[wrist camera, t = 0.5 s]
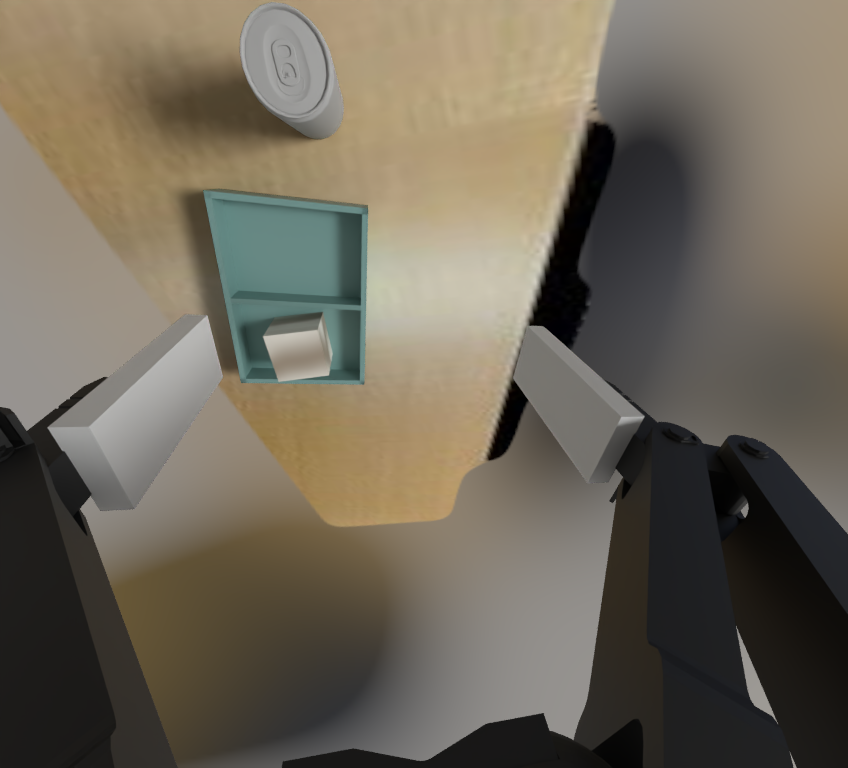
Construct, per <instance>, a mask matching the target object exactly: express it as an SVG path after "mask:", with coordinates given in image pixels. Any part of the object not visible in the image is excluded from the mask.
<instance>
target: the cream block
mask: <svg viewBox="0 0 848 768" xmlns="http://www.w3.org/2000/svg"><path fill="white" fill-rule="evenodd" d="M263 338H264V341H265V344H266V347H267V350H268V352H269V355H270V358H271V361H272V364H273V367H274V370H275V373H276V375H277V378H278V381H279V382H282V381H290V380H297V379H305V378H313V377H320V376H328V375H329V372H330V366H331V361H332V355H333V353H332V348H331V344H330V340H329V336H328V331H327V327H326V323H325V319H324V314H323V312H317V313H308V314H299V315H290V316H282V317H275V318H274V319H273V321H272V323H271V324H270V326H269V327H268V329H267V331H266V332H265V334H264V335H263Z"/></svg>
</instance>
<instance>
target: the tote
mask: <svg viewBox="0 0 848 768" xmlns="http://www.w3.org/2000/svg"><path fill="white" fill-rule="evenodd" d="M203 192H204V197H205V202H206V207H207V212H208V218H209V223H210V228H211V233H212V238H213V243H214V248H215V253H216V258H217V263H218V268H219V273H220V278H221V283H222V289H223V294H224V299H225V304H226V309H227V314H228V319H229V324H230V329H231V334H232V339H233V344H234V349H235V354H236V359H237V365H238V370H239V375H240V380H241V383H291V384H364V372H365V326H366V279H367V232H368V205H360V204H351V203H342V202H333V201H324V200H315V199H306V198H297V197H288V196H279V195H270V194H261V193H252V192H244V191H235V190H226V189H212V190H203ZM317 312H323V314H324V319H325V323H326V327H327V331H328V336H329V340H330V344H331V348H332V353H333V355H332V361H331V366H330V372H329V375H328V376H320V377H313V378H305V379H297V380H290V381H282V382H279V381H278V378H277V375H276V373H275V370H274V367H273V364H272V361H271V358H270V355H269V352H268V350H267V347H266V344H265V341H264V338H263V335H264V334H265V332H266V331H267V329H268V327H269V326H270V324H271V323H272V321H273V319H274V318H275V317H282V316H290V315H299V314H308V313H317Z"/></svg>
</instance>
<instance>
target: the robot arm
mask: <svg viewBox="0 0 848 768" xmlns="http://www.w3.org/2000/svg"><path fill="white" fill-rule="evenodd" d="M222 378H223V375H222V371H221V367H220V363H219V359H218V355H217V351H216V347H215V344H214V340H213V336H212V332H211V328H210V324H209V320H208V316H207V315H190V314H185V315H184V316H182V317H181V318H180V319H179V320H177V321H176V322H175V323H174V324H173V325H171V326H170V327H169V328H168V329H167V330H165V331H164V332H163V333H162V334H161V335H159V336H158V337H157V338H156V339H154V340H153V341H152V342H151V343H150V344H149V345H147V346H146V347H145V348H143V349H142V350H141V351H140V352H139V353H137V354H136V355H135V356H134V357H132V358H131V359H130V360H129V361H128V362H126V363H125V364H124V365H123V366H122V367H120V368H119V369H118V370H117V371H116V372H114V373H113V374H112V375H111V376H109V377H103V378H101V379H99V380H97V381H94V382H93V383H90V384H88V385H86V386H84V387H83V388H81V389H80V390H79V391H78V392H76V393H75V394H74V395H72V396H71V397H70V399H68V400H66V401H65V402H63V403H62V404H61V405H60V406H59V408H58V409H55V410H53V411H52V412H51V413H49V414H48V415H47V416H45V417H44V418H43V419H42V420H40V421H39V422H38V423H37V424H35V425H34V426H33V427H32V428H30V429H29V430H28V431H26V430H25V428H24V427H23V425H22V424H21V422H20V421H19V420H18V418H17V416H16V415H15V413H14V412H12V411H11V410H10V409H8V408H2V407H0V768H178V767H177V765H176V762H175V760H174V756H173V754H172V751H171V748H170V746H169V743H168V740H167V737H166V735H165V732H164V729H163V727H162V724H161V721H160V718H159V716H158V713H157V710H156V708H155V705H154V702H153V700H152V697H151V694H150V692H149V689H148V686H147V684H146V681H145V678H144V675H143V672H142V670H141V667H140V664H139V661H138V659H137V656H136V653H135V651H134V648H133V645H132V642H131V640H130V637H129V634H128V632H127V629H126V626H125V623H124V621H123V618H122V615H121V612H120V610H119V607H118V604H117V602H116V599H115V596H114V594H113V591H112V588H111V586H110V583H109V580H108V577H107V574H106V572H105V569H104V566H103V564H102V561H101V558H100V556H99V553H98V550H97V547H96V545H95V542H94V539H93V536H92V534H91V531H90V528H89V526H88V523H87V520H86V518H85V516H84V515H83V513H82V512H81V510H80V508H81V506H82V505H83V504H84V503H85V502H86V500H87V499H88V498H89V497H90V496H91V497H92V499H93V500H94V501H95V503H96V505H97V506H98V508H99V509H100V511H109V510H128V509H135V508H136V506H137V504H138V503H139V502H140V500H141V498H142V497H143V496H144V494H145V492H146V491H147V489H148V488H149V486H150V485H151V483H152V482H153V481H154V479H155V478H156V476H157V475H158V473H159V472H160V470H161V469H162V467H163V466H164V464H165V463H166V461H167V460H168V458H169V457H170V455H171V454H172V452H173V451H174V449H175V448H176V446H177V445H178V443H179V442H180V440H181V439H182V437H183V436H184V434H185V433H186V432H187V430H188V429H189V427H190V426H191V424H192V422H193V421H194V419H195V418H196V417H197V415H198V414H199V412H200V411H201V409H202V408H203V406H204V405H205V403H206V402H207V400H208V399H209V397H210V396H211V394H212V393H213V391H214V390H215V388H216V387H217V385H218V384H219V382H220V381H221V379H222ZM513 379H514V380H515V381H516V383H517V384H518V386H519V387H520V389H521V390H522V391H523V393H524V394H525V396H526V397H527V398H528V400H529V401H530V403H531V404H532V405H533V406H534V408H535V410H536V411H537V413H538V414H539V415H540V417H541V418H542V420H543V421H544V422H545V424H546V425H547V427H548V428H549V430H550V431H551V432H552V434H553V435H554V437H555V438H556V439H557V441H558V442H559V444H560V445H561V446H562V448H563V449H564V451H565V452H566V454H567V455H568V456H569V458H570V459H571V460H572V462H573V463H574V465H575V466H576V468H577V469H578V471H579V472H580V473H581V475H582V476H583V477H584V479H585V480H586V482H587V483H604V482H609V480H610V478H611V476H612V475H613V473H614V471H615V469H617V470H618V472H619V473H620V474H621V475H622V476H623V479H622V480H621V482H620V484H619V485H618V487H617V489H616V491H615V492H614V494H613V496H612V497H611V499H610V502H612V503H613V502H614V501H615V499H616V506H615V513H614V520H613V527H612V534H611V541H610V548H609V555H608V561H607V568H606V575H605V583H604V589H603V596H602V603H601V611H600V617H599V625H598V631H597V638H596V645H595V652H594V659H593V666H592V673H591V680H590V687H589V693H588V699H587V702H586V705H585V708H584V711H583V713H582V715H581V718H580V720H579V723H578V726H577V729H576V733H575V737H574V740H572V739H570V738H568V737H566V736H563V735H561V734H558V733H555V732H553V731H549V728H548V725H547V722H546V719H545V716H544V713H542V714H536V715H531V716H526V717H520V718H515V719H510V720H504V721H499V722H493V723H488V724H485V725H483V726H482V727H480V728H479V729H477V730H476V731H474V732H472V733H471V734H469V735H468V736H466V737H464V738H463V739H461V740H460V741H458V742H456V743H455V744H453V745H452V746H450V747H448V748H447V749H445V750H444V751H442V752H440V753H439V754H437V755H436V756H434V757H432V758H431V759H429V760H426V761H416V760H410V759H406V758H400V757H395V756H390V755H385V754H379V753H374V752H369V751H364V750H359V749H348V750H343V751H337V752H332V753H327V754H322V755H316V756H311V757H306V758H300V759H295V760H289V761H284V762H283V764H282V768H793V764H792V760H791V756H790V753H791V755H792V758H793V760H794V762H795V764H796V767H797V768H848V534H847V533H846V532H845V531H844V529H843V528H842V527H841V526H840V525H839V523H838V522H837V521H836V520H835V519H834V518H833V517H832V515H831V514H830V513H829V512H828V511H827V510H826V509H825V507H824V506H823V505H822V504H821V503H820V501H819V500H818V499H817V498H816V497H815V496H814V494H813V493H812V492H811V491H810V490H809V489H808V488H807V486H806V485H805V484H804V483H803V482H802V481H801V479H800V478H799V477H798V476H797V475H796V474H795V472H794V471H793V470H792V469H791V468H790V467H789V466H788V464H787V463H786V462H785V461H784V460H783V458H781V456H780V455H778V454H777V453H776V452H775V451H774V450H773V449H771V448H770V447H768V446H766V444H764V443H762V442H760V441H759V442H758V440H756V439H753V438H748V437H745V436H739V435H731V436H728V438H727V439H726V440H725V441H724V443H723V444H722V446H721V447H719V446H713V445H708V444H703V443H702V441H701V440H700V439H699V438H698V437H697V436H696V435H695V434H694V433H692V432H690V431H689V430H687V429H685V428H683V427H681V426H678V425H675V424H672V423H668V422H658V423H657V422H656V421H655V420H654V419H653V418H652V417H650V416H649V415H648V414H647V413H646V412H645V411H643V410H642V409H641V408H640V407H639V406H638V405H637V404H636V403H634V402H632V400H631V399H630V398H629V397H628V396H626V395H624V393H623V392H622V391H621V390H619V389H618V388H617V387H616V386H615V385H613V384H611V383H610V382H608V381H606V380H604V379H602V378H601V377H600V376H598V375H597V374H596V373H595V372H594V371H593V370H592V369H591V368H590V367H588V366H587V365H586V364H585V363H584V362H583V361H581V359H579V358H578V357H577V356H576V355H575V354H574V353H573V352H572V351H570V350H569V349H568V348H567V347H566V346H565V345H564V344H563V343H561V342H560V341H559V340H558V339H557V338H556V337H555V336H554V335H552V334H551V333H550V332H549V331H548V330H547V329H546V328H544V327H543V326H527V330H526V334H525V337H524V341H523V345H522V348H521V352H520V356H519V359H518V363H517V366H516V370H515V374H514V377H513ZM747 503H748V505H749V510H748V514H747V516H746V518H745V517H744V516H743V514H742V513H741V509H742V508H743V507H744V506H745V505H746V504H747ZM736 626H737V629H738V631H739V633H740V636H741V638H742V640H743V643H744V645H745V647H746V650H747V652H748V654H749V657H750V659H751V661H752V664H753V666H754V668H755V670H756V673H757V675H758V678H759V680H760V683H761V685H762V687H763V689H764V692H765V694H766V697H767V699H768V701H769V703H770V706H771V708H772V711H773V713H774V715H775V718H776V720H777V722H778V724H777V722H776V721H775V720H774V718H773V717H772V716H771V715H769V714H767V713H766V712H764V711H762V710H760V709H759V708H757V707H755V706H754V704H753V703H752V701H751V700H750V697H749V693H748V690H747V685H746V679H745V674H744V668H743V662H742V657H741V652H740V646H739V640H738V635H737V629H736Z"/></svg>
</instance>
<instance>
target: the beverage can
mask: <svg viewBox="0 0 848 768" xmlns="http://www.w3.org/2000/svg"><path fill="white" fill-rule="evenodd" d="M240 57H241V62H242V68H243V70H244V73H245V76H246V78H247V81H248V83H249V85H250V88H251V89H252V91H253V92H254V94H255V96H256V97H257V99H258V100H259V101H260V102H261V103H262V104H263V106H264V107H265V108H266V109H267V110H268V111H269V112H271V113H272V114H274V115H275V116H277V117H278V118H279V119H281V120H282V121H284V122H285V123H287V124H288V125H290V126H291V127H293V128H294V129H296V130H297V131H299V132H300V133H302V134H303V135H305V136H307V137H310V138H313V139H324V138H327V137H329V136H331V135H332V134H334V133H335V132H336V130H337V129H338V128H339V126H340V124H341V122H342V119H343V113H344V105H343V98H342V94H341V91H340V87H339V83H338V79H337V76H336V72H335V68H334V65H333V61H332V57H331V54H330V50H329V48H328V46H327V44H326V42H325V40H324V38H323V36H322V34H321V33H320V31H319V30H318V29H317V27H316V26H315V25H314V24H313V22H312V21H311V20H310V19H308V18H307V17H306V16H305V15H304V14H302V13H301V12H300V11H299V10H298V9H296V8H293V7H291V6H289V5H287V4H284V3H275V2H271V3H267V4H263V5H260V6H259V7H258V8H256V9H255V10H254V11H252V12H251V13H250V15H249V16H248V18H247V20H246V21H245V23H244V25H243V29H242V32H241V36H240Z"/></svg>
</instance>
